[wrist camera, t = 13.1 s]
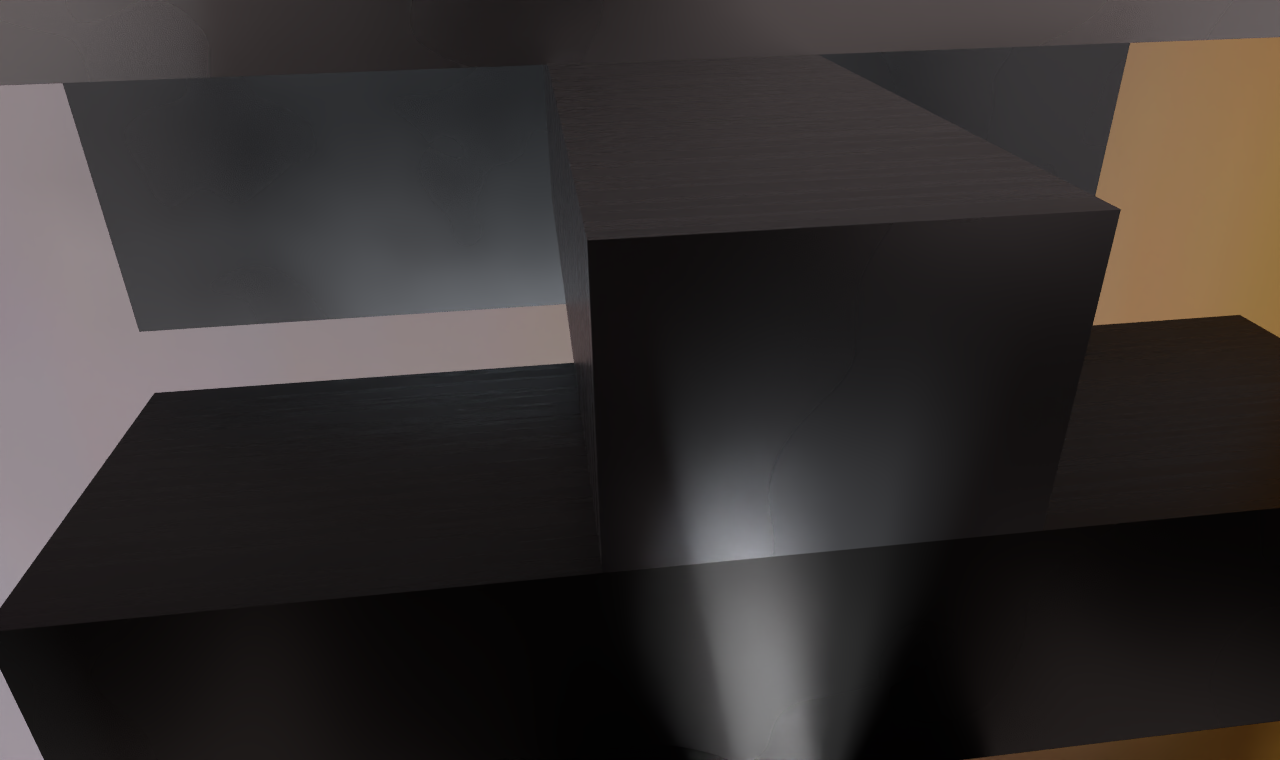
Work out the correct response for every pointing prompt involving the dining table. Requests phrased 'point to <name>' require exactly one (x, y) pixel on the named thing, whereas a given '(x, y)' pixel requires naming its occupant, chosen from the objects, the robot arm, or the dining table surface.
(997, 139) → the vise
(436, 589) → the vise jaw
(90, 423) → the dining table surface
